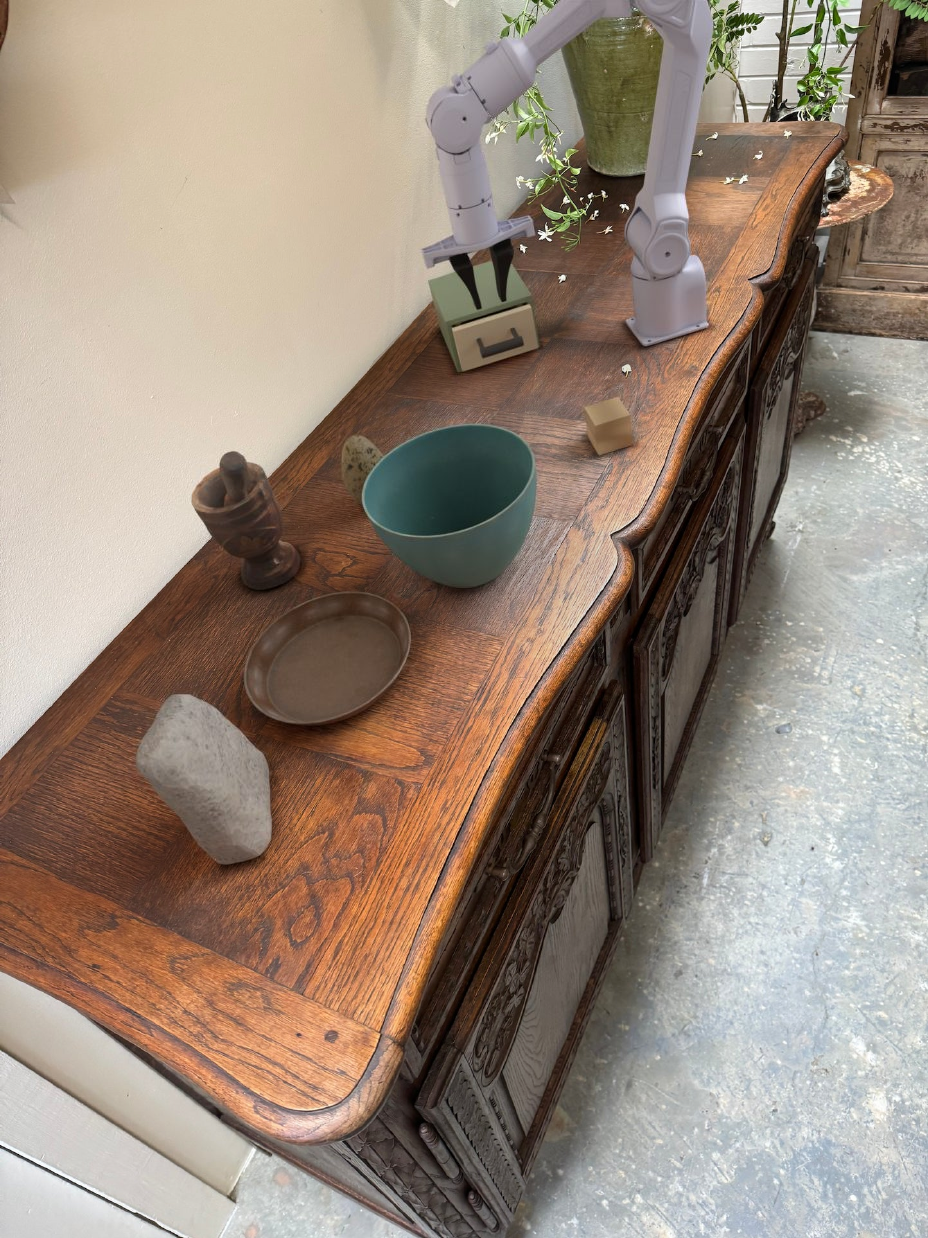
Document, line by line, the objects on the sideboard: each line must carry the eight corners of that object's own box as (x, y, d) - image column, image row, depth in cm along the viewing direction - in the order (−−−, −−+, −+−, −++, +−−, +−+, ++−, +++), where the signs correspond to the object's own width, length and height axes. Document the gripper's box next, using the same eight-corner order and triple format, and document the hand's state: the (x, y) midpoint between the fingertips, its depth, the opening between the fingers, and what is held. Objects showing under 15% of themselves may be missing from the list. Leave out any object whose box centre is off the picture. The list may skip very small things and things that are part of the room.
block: (621, 426, 105) (618, 396, 102) (633, 445, 102) (630, 414, 99) (587, 436, 105) (583, 407, 102) (598, 455, 102) (594, 425, 99)
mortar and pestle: (339, 559, 100) (277, 418, 85) (297, 609, 95) (224, 469, 81) (268, 540, 105) (198, 405, 91) (224, 587, 101) (144, 453, 86)
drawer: (546, 362, 118) (540, 321, 113) (469, 386, 118) (459, 346, 113) (515, 308, 130) (508, 269, 126) (445, 330, 130) (436, 292, 126)
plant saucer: (320, 592, 96) (311, 574, 94) (448, 631, 88) (442, 612, 85) (221, 709, 87) (209, 691, 85) (353, 765, 79) (343, 747, 76)
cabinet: (540, 347, 123) (531, 294, 117) (458, 372, 123) (445, 321, 117) (516, 305, 133) (506, 255, 127) (440, 328, 133) (427, 280, 127)
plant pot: (407, 642, 88) (373, 558, 79) (383, 536, 101) (352, 453, 92) (572, 591, 88) (556, 501, 79) (527, 491, 101) (510, 404, 92)
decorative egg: (349, 498, 107) (323, 434, 100) (392, 481, 108) (369, 416, 101) (361, 524, 103) (334, 459, 96) (405, 506, 104) (382, 440, 97)
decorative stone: (223, 768, 82) (149, 673, 71) (281, 756, 81) (215, 658, 71) (208, 871, 74) (123, 781, 64) (272, 858, 74) (197, 766, 63)
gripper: (517, 171, 106) (534, 274, 116) (408, 205, 106) (433, 305, 116) (531, 189, 101) (547, 295, 111) (417, 225, 101) (443, 328, 111)
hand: (490, 302), depth 113 cm, fingers open, 3 cm apart
